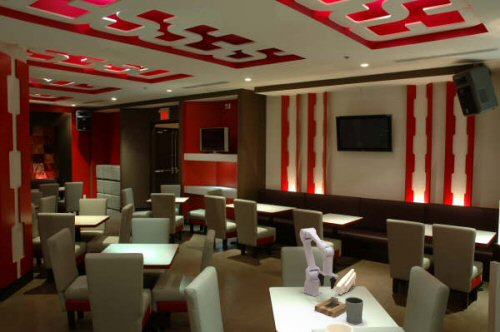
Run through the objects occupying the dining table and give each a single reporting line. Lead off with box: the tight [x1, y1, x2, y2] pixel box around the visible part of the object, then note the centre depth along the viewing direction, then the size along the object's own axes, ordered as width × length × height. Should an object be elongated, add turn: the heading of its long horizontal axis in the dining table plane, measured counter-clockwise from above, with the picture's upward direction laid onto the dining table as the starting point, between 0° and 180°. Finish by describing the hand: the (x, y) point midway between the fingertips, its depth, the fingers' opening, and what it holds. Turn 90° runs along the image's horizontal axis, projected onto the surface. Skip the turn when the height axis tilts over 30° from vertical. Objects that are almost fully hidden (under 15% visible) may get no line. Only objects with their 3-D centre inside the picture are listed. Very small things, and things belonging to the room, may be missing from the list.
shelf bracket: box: [335, 268, 357, 295], centre depth 284 cm, size 6×25×13 cm, turn 143°
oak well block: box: [314, 298, 346, 318], centre depth 251 cm, size 14×16×3 cm
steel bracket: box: [327, 296, 339, 309], centre depth 251 cm, size 4×8×6 cm, turn 135°
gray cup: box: [344, 296, 364, 325], centre depth 237 cm, size 10×10×12 cm
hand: (327, 287), depth 263 cm, fingers open, 7 cm apart
